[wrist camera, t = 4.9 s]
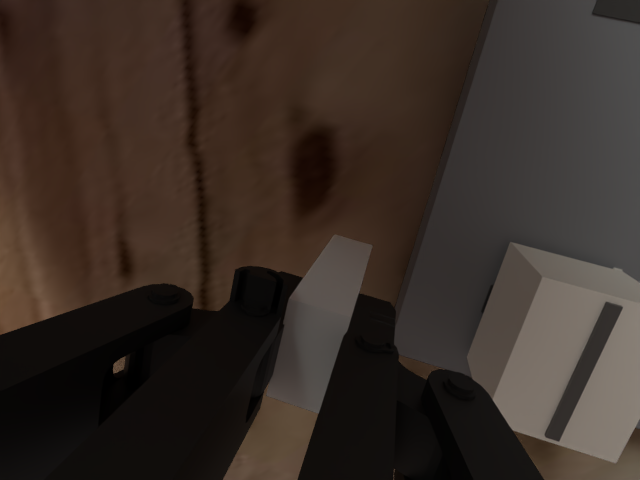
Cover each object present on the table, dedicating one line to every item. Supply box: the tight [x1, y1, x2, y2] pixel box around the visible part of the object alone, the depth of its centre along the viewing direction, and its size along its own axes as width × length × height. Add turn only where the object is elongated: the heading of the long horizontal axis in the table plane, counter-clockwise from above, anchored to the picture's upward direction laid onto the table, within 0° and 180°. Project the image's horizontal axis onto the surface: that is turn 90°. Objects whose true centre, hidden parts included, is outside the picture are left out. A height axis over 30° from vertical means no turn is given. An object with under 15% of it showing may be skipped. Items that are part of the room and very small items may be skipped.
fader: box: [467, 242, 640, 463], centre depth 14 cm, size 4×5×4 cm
